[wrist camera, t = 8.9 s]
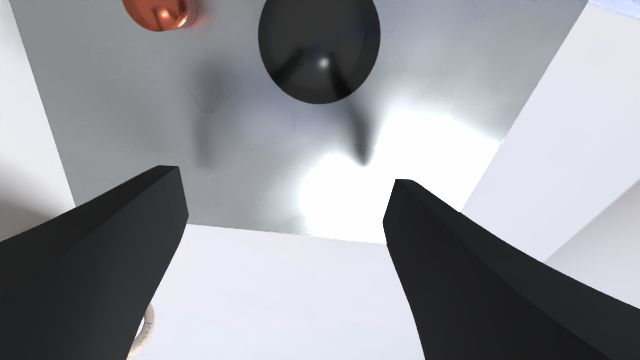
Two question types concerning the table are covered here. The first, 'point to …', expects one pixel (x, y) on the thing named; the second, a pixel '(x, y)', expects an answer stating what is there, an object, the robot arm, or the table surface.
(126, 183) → the robot arm
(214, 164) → the cooker lid
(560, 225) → the table surface
